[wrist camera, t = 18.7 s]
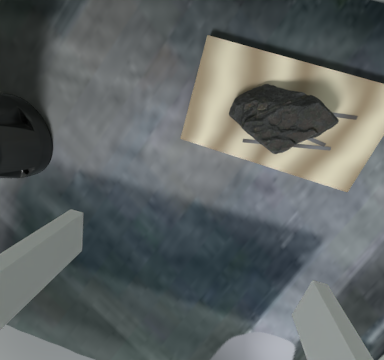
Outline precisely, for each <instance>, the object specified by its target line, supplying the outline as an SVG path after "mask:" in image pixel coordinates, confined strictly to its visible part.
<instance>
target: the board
mask: <svg viewBox="0 0 384 360" xmlns="http://www.w3.org/2000/svg"><path fill="white" fill-rule="evenodd" d="M264 84H269V85H274V86H276V87H279V88H283V89H287V90H291V91H298V92H303V93H305V94H307V95H313V96H315V97H317V98H318V99H319V100H321V101H322V102H323V103H324V105H325V106H326V107H327V108H328V109H329V110H330V111H331V112H332V113H333V114H334V115H335V116H336V117H337V118H338V120H339V122H338V124H336V125H335V126H334V127H332V128H331V129H329V130H327V131H325V132H324V133H322V134H321V135H320V136H318V137H315V138H310V139H307V140H305V141H303V142H301V143H298V144H296V145H295V146H293V147H292V148H290V149H289V150H287V151H285V152H283V153H278V154H273V153H272V152H270V151H269V150H268V149H267V148H265V147H264V146H263V145H261V144H260V143H259V142H258V141H256V140H255V139H254V138H253V137H252V136H250V135H249V134H248V133H247V132H245V131H244V130H243V129H242V128H241V126H240V125H239V124H238V123H237V122H236V121H235V120H233V119H232V118H231V117H230V116H229V111H230V108H231V106H232V103H233V102H234V99H235V98H236V97H238V96H239V95H241V94H243V93H245V92H247V91H249V90H252V89H253V88H256V87H259V86H262V85H264ZM383 135H384V84H382V83H379V82H375V81H372V80H368V79H364V78H361V77H357V76H354V75H350V74H346V73H343V72H339V71H335V70H332V69H328V68H325V67H321V66H317V65H314V64H310V63H307V62H303V61H299V60H296V59H292V58H289V57H285V56H281V55H278V54H274V53H270V52H267V51H263V50H260V49H256V48H252V47H249V46H245V45H242V44H238V43H234V42H231V41H227V40H224V39H220V38H216V37H213V36H209V35H207V39H206V43H205V47H204V51H203V54H202V58H201V62H200V66H199V70H198V73H197V77H196V81H195V85H194V89H193V93H192V96H191V100H190V104H189V108H188V112H187V115H186V119H185V123H184V127H183V131H182V135H181V138H180V139H183V140H186V141H189V142H192V143H195V144H198V145H201V146H205V147H208V148H211V149H214V150H217V151H220V152H223V153H226V154H230V155H233V156H236V157H239V158H242V159H245V160H248V161H251V162H254V163H258V164H261V165H264V166H267V167H270V168H273V169H276V170H279V171H282V172H286V173H289V174H292V175H295V176H298V177H301V178H304V179H307V180H311V181H314V182H317V183H320V184H323V185H326V186H329V187H332V188H335V189H339V190H342V191H345V192H348V191H349V189H350V187H351V186H352V184H353V183H354V181H355V180H356V178H357V176H358V175H359V173H360V172H361V170H362V168H363V167H364V165H365V164H366V162H367V161H368V159H369V157H370V156H371V154H372V153H373V151H374V150H375V148H376V146H377V145H378V143H379V142H380V140H381V138H382V137H383Z"/></svg>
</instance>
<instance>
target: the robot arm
mask: <svg viewBox="0 0 384 360" xmlns="http://www.w3.org/2000/svg"><path fill="white" fill-rule="evenodd" d="M51 154H52V142H51V137H50V133H49V131H48V128H47V126H46V124H45V122H44V120H43V119H42V117H41V116H40V114H39V113H38V112H37V111H36V110H35V109H34V108H33V107H32V106H31V105H30V104H29V103H28V102H26V101H25V100H23V99H21V98H19V97H17V96H14V95H9V94H0V178H24V177H28V176H31V175H35V174H38V173H40V172H41V171H43V170H44V169H45V168H46V167H47V165H48V163H49V161H50V159H51ZM82 236H83V213H82V212H79V211H75V210H72V209H71V210H69V211H67V212H66V213H64V214H63V215H61V216H59V217H58V218H56V219H55V220H53V221H52V222H50V223H48V224H47V225H45V226H44V227H42V228H40V229H39V230H37V231H36V232H34V233H32V234H31V235H29V236H28V237H26V238H24V239H23V240H21V241H20V242H18V243H17V244H15V245H13V246H12V247H10V248H9V249H7V250H5V251H4V252H2V253H1V254H0V330H1V329H2V328H3V327H4V326H5V325H6V324H7V323H8V322H9V321H10V320H11V319H12V318H13V317H14V316H15V315H16V314H17V313H18V312H19V311H20V310H21V309H22V308H23V307H24V306H25V305H27V304H28V303H29V302H30V301H31V300H32V299H33V298H34V297H35V296H36V295H37V294H38V293H39V292H40V291H41V290H42V289H43V288H44V287H45V286H46V285H47V284H48V283H49V282H50V281H51V280H52V279H53V278H54V277H55V276H56V275H57V274H58V273H59V272H60V271H61V270H63V269H64V268H65V267H66V266H67V265H68V264H69V263H70V262H71V261H72V260H73V259H74V258H75V257H76V256H77V255H78V254H79V253H80V252H81V251H82ZM292 317H293V320H294V323H295V326H296V329H297V332H298V335H299V337H300V340H301V343H302V346H303V349H304V352H305V355H306V358H307V360H373V358H372V357H371V355H370V353H369V352H368V350H367V348H366V347H365V345H364V344H363V342H362V340H361V339H360V337H359V335H358V334H357V332H356V330H355V329H354V327H353V326H352V324H351V322H350V321H349V319H348V317H347V316H346V314H345V313H344V311H343V309H342V308H341V306H340V304H339V303H338V301H337V299H336V298H335V296H334V295H333V293H332V291H331V290H330V288H329V286H328V285H327V284H324V283H320V282H317V281H314V280H313V281H312V282H311V284H310V286H309V287H308V289H307V291H306V292H305V294H304V296H303V297H302V299H301V300H300V302H299V304H298V305H297V307H296V309H295V310H294V312H293V314H292Z"/></svg>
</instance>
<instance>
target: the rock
mask: <svg viewBox="0 0 384 360" xmlns="http://www.w3.org/2000/svg"><path fill="white" fill-rule="evenodd" d="M229 116H230V117H231V118H232V119H233V120H235V121H236V122H237V123H238V124H239V125H240V126H241V128H242V129H243V130H244V131H245V132H247V133H248V134H249V135H250V136H252V137H253V138H254V139H255V140H256V141H258V142H259V143H260V144H261V145H263V146H264V147H265V148H267V149H268V150H269V151H270V152H272V153H273V154H278V153H283V152H285V151H287V150H289V149H290V148H292V147H293V146H295V145H296V144H298V143H301V142H303V141H305V140H307V139H310V138H315V137H318V136H320V135H321V134H322V133H324V132H325V131H327V130H329V129H331V128H332V127H334V126H335V125H336V124H338V122H339V120H338V118H337V117H336V116H335V115H334V114H333V113H332V112H331V111H330V110H329V109H328V108H327V107H326V106H325V105H324V103H323V102H322V101H321V100H319V99H318V98H317V97H315V96H313V95H307V94H305V93H303V92H298V91H291V90H287V89H283V88H279V87H276V86H274V85H269V84H264V85H262V86H259V87H256V88H253V89H252V90H249V91H247V92H245V93H243V94H241V95H239V96H238V97H236V98H235V99H234V102H233V103H232V106H231V108H230V111H229Z"/></svg>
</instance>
